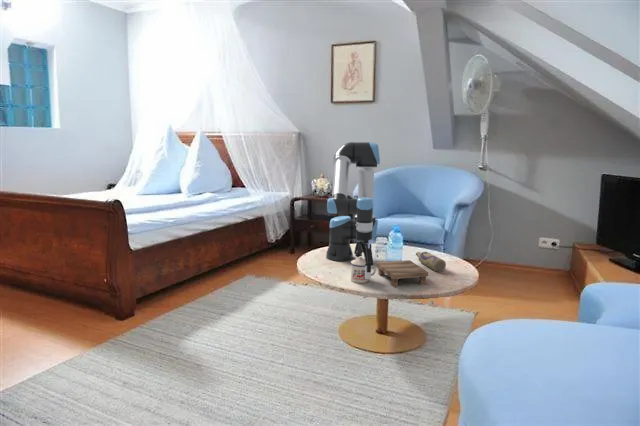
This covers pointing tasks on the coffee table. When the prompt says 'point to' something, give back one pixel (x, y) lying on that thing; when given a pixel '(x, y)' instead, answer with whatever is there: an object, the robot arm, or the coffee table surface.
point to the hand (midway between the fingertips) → (362, 274)
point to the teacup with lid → (359, 271)
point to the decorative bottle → (431, 261)
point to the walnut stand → (402, 271)
